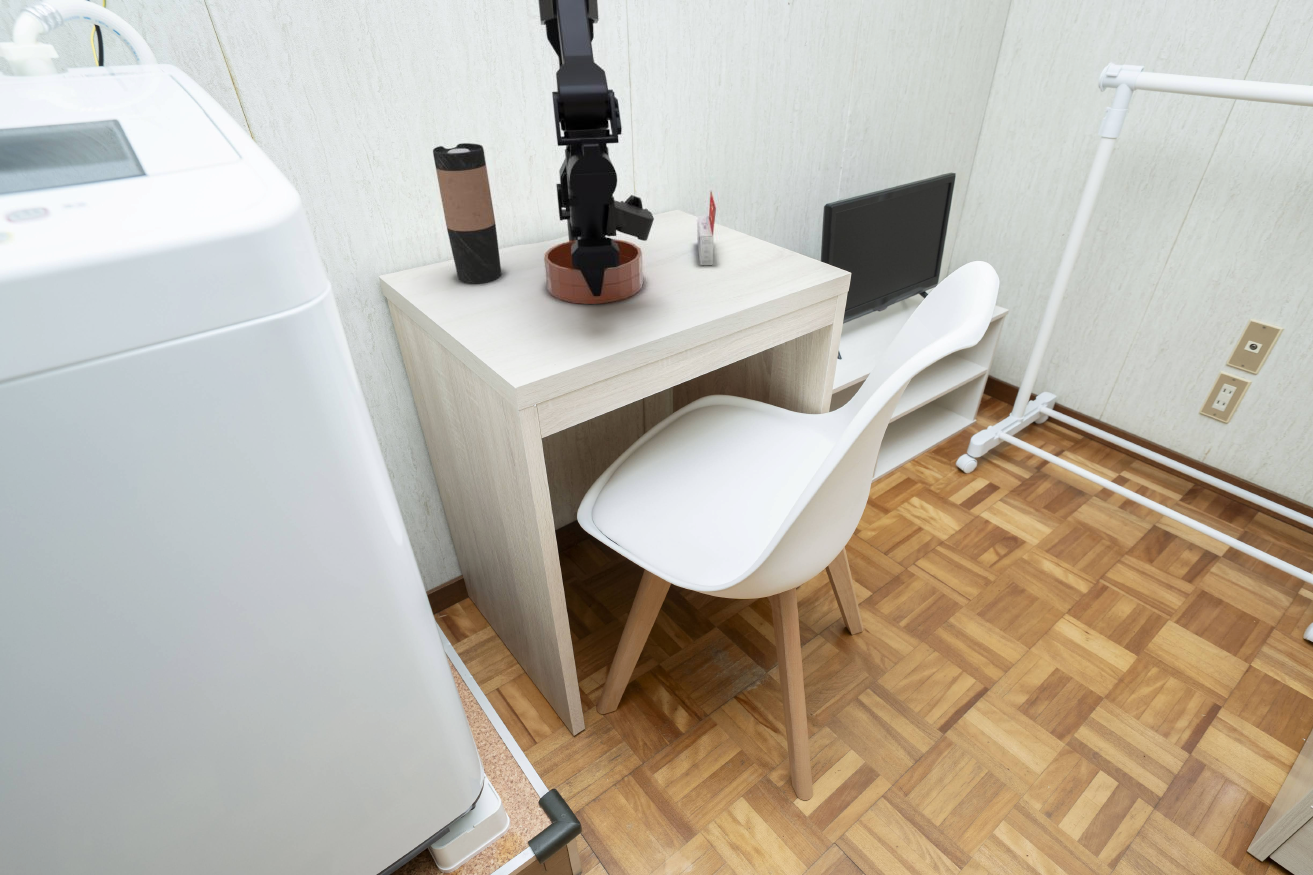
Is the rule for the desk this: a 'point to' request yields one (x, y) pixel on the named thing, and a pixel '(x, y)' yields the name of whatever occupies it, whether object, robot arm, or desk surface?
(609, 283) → the bowl
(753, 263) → the desk surface
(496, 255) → the travel mug
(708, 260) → the ink cartridge box
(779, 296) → the desk surface
